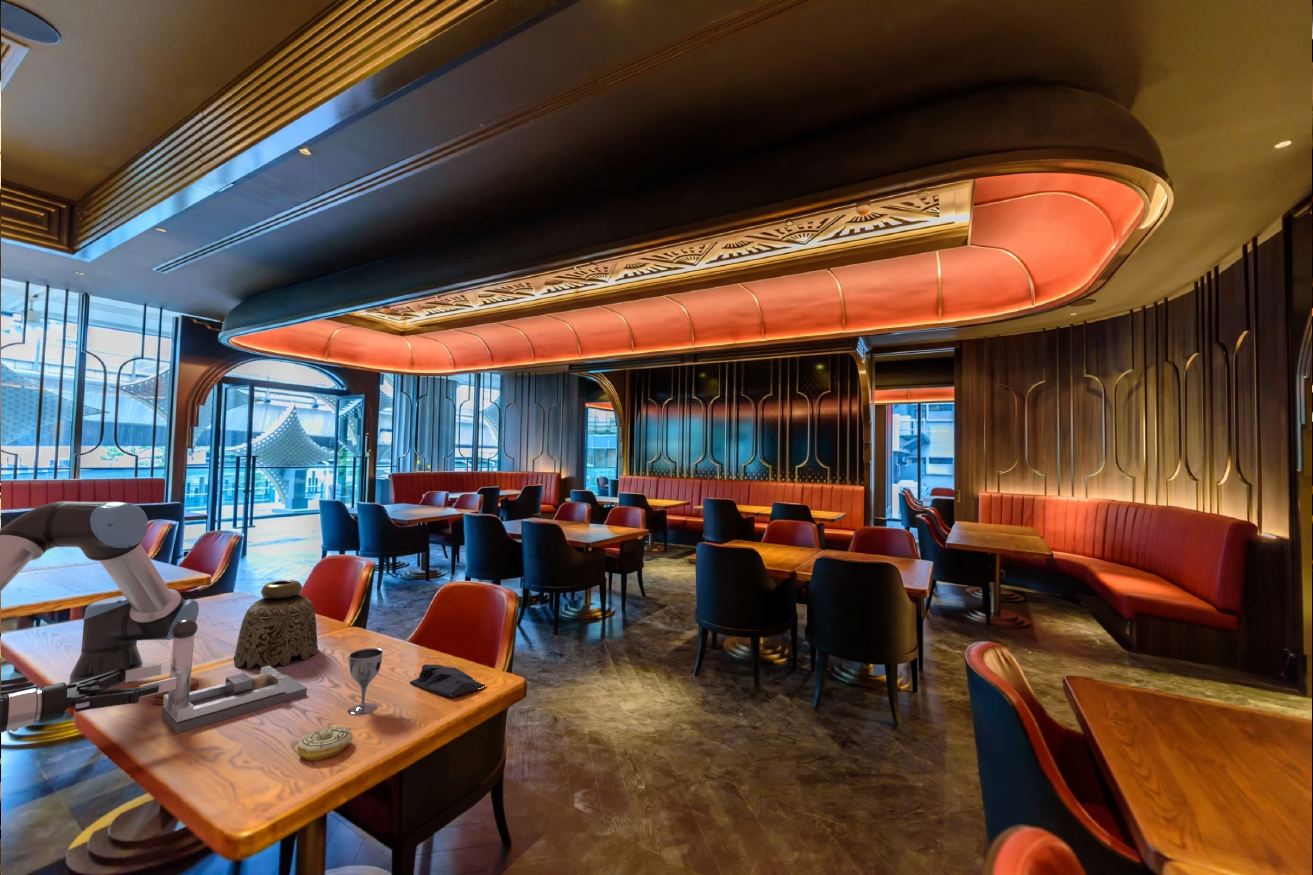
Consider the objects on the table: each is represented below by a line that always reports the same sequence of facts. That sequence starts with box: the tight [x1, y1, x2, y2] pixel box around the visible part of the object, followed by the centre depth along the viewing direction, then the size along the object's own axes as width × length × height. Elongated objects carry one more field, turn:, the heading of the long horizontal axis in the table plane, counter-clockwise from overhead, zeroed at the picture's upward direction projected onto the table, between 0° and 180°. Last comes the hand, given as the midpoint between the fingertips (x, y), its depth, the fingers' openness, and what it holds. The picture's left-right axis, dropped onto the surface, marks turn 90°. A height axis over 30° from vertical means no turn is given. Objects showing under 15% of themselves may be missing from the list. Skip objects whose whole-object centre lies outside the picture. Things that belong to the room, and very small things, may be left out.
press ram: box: [162, 619, 287, 722], centre depth 141 cm, size 13×24×23 cm, turn 144°
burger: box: [151, 677, 200, 705], centre depth 145 cm, size 10×9×5 cm
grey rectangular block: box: [225, 672, 253, 698], centre depth 143 cm, size 7×4×5 cm, turn 54°
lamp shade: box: [233, 579, 319, 670], centre depth 178 cm, size 23×23×25 cm
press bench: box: [160, 673, 308, 734], centre depth 142 cm, size 15×28×2 cm, turn 144°
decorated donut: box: [296, 726, 353, 762], centre depth 122 cm, size 10×11×4 cm
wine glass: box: [347, 647, 383, 716], centre depth 143 cm, size 8×8×15 cm
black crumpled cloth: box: [409, 663, 486, 698], centre depth 160 cm, size 15×22×5 cm
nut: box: [249, 673, 268, 691], centre depth 146 cm, size 4×4×4 cm
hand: (168, 675), depth 131 cm, fingers open, 13 cm apart
